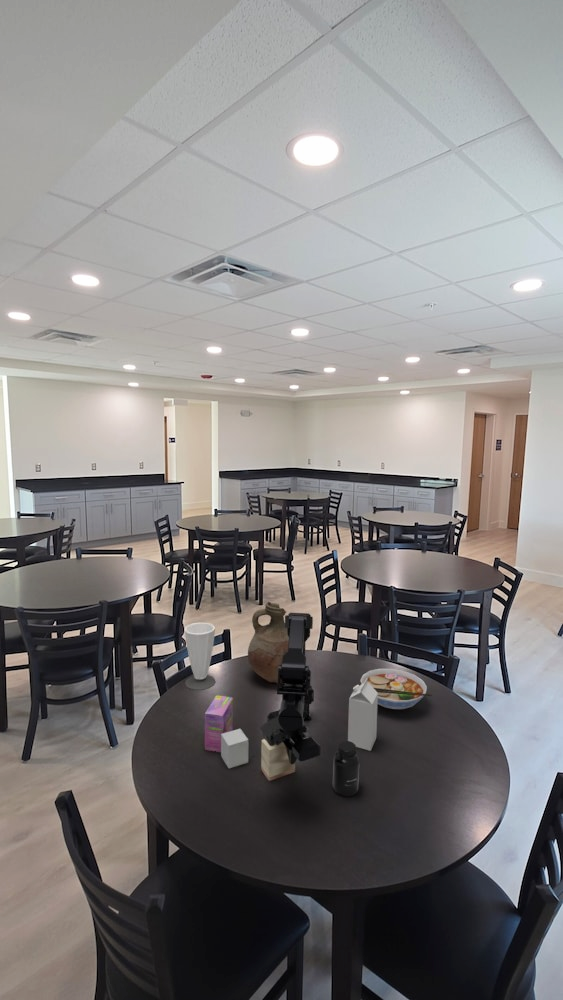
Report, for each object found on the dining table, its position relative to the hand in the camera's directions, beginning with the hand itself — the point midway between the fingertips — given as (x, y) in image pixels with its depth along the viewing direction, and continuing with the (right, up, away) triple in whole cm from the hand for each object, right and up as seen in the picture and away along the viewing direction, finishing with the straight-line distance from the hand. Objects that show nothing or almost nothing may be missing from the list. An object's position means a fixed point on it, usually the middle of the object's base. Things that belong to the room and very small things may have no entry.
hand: (292, 763), depth 126 cm
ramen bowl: (+36, -3, +43) cm, 57 cm away
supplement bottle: (+14, -8, +2) cm, 16 cm away
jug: (-5, 0, +60) cm, 60 cm away
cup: (-34, 0, +56) cm, 65 cm away
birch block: (-4, -6, +8) cm, 11 cm away
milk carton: (+22, -5, +21) cm, 31 cm away
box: (-22, -5, +21) cm, 31 cm away
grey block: (-16, -6, +13) cm, 21 cm away
